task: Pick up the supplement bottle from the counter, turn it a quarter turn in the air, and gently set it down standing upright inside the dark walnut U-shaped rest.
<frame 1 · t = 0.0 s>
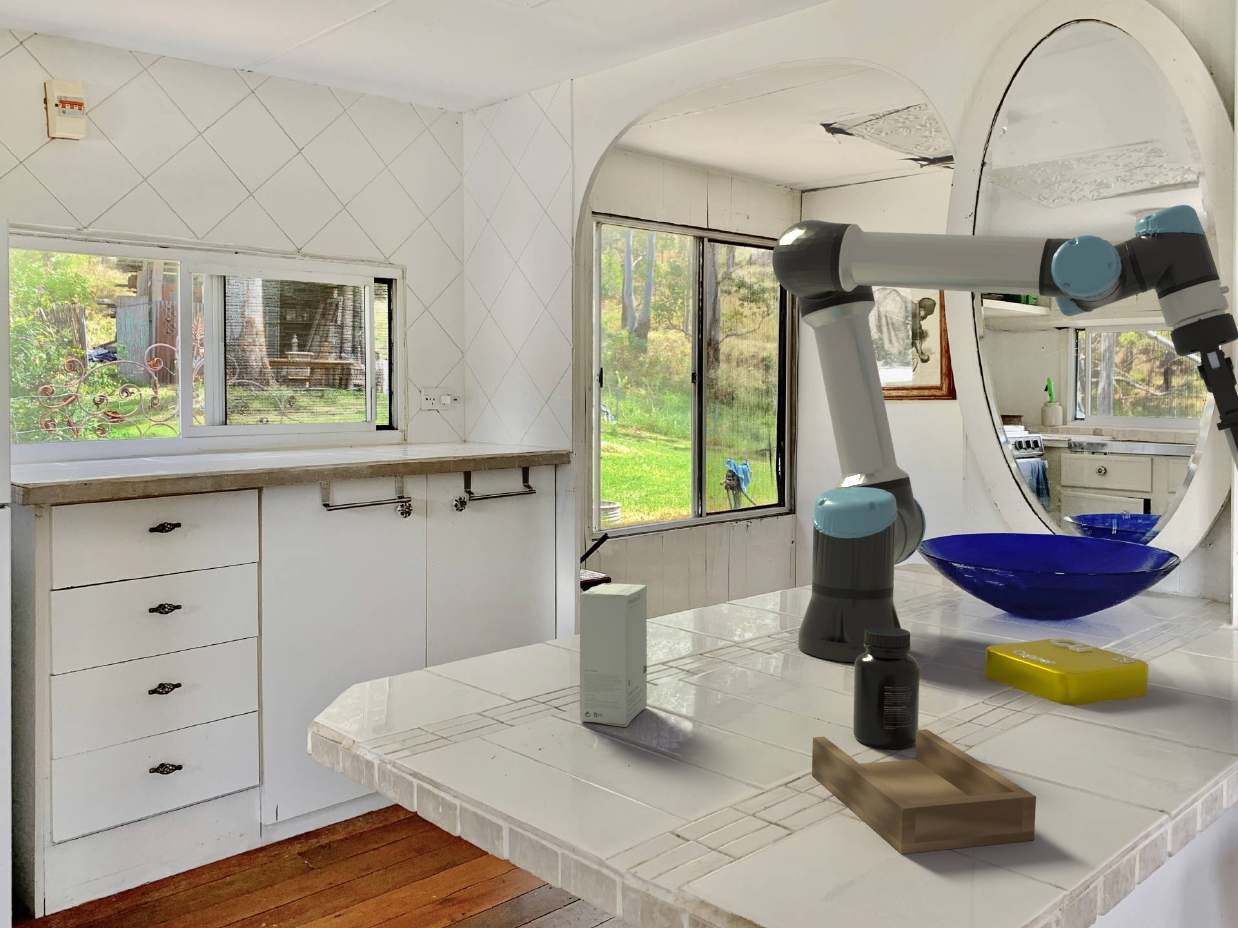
u rest: (900, 793, 94), on the counter
supplement bottle: (884, 741, 109), on the counter
element tile: (1063, 688, 132), on the counter
skincare box: (613, 715, 116), on the counter
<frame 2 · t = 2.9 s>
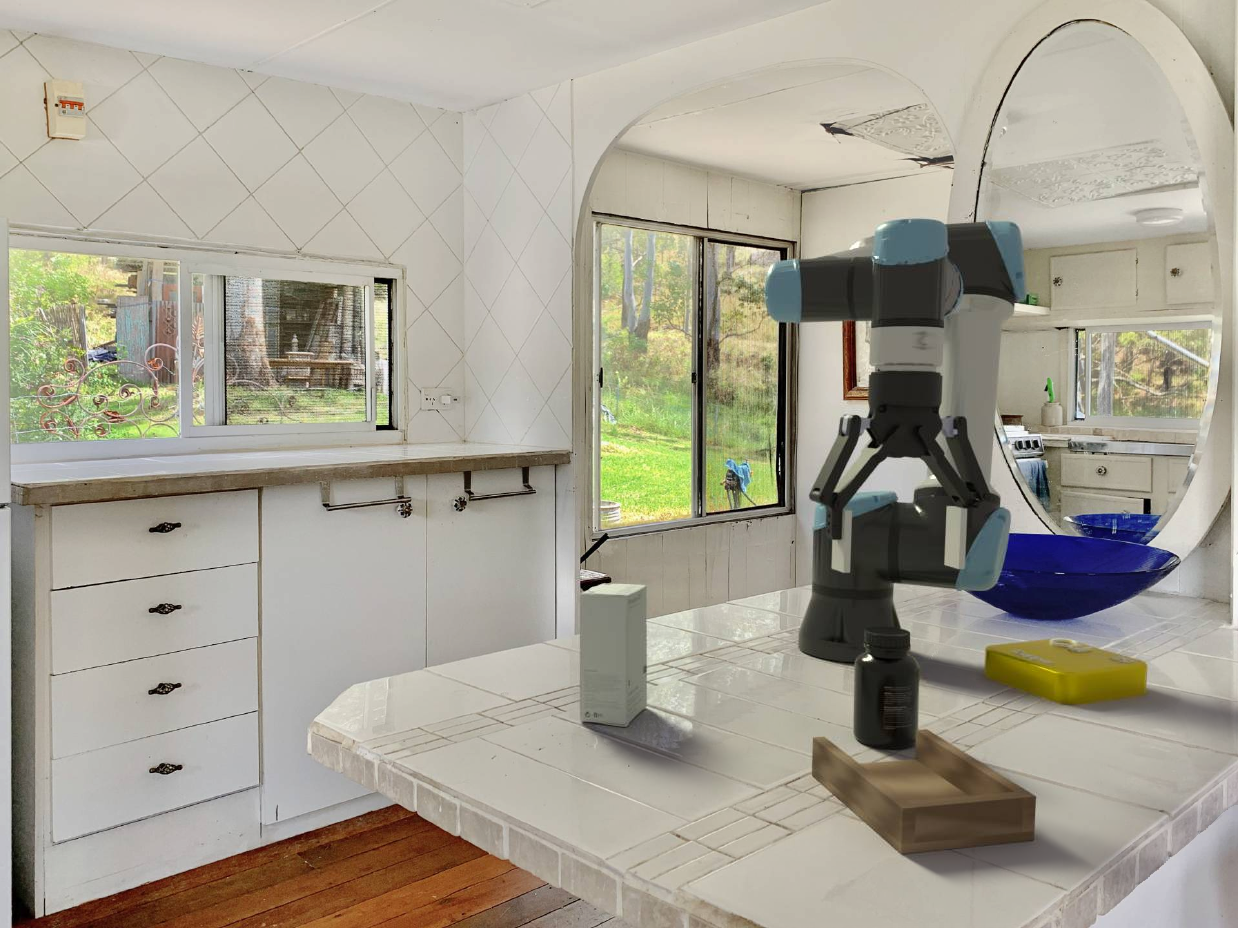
hand: (898, 569, 107), 19 cm above the counter, tool pointing down, fingers open, 13 cm apart
nothing on the counter moved.
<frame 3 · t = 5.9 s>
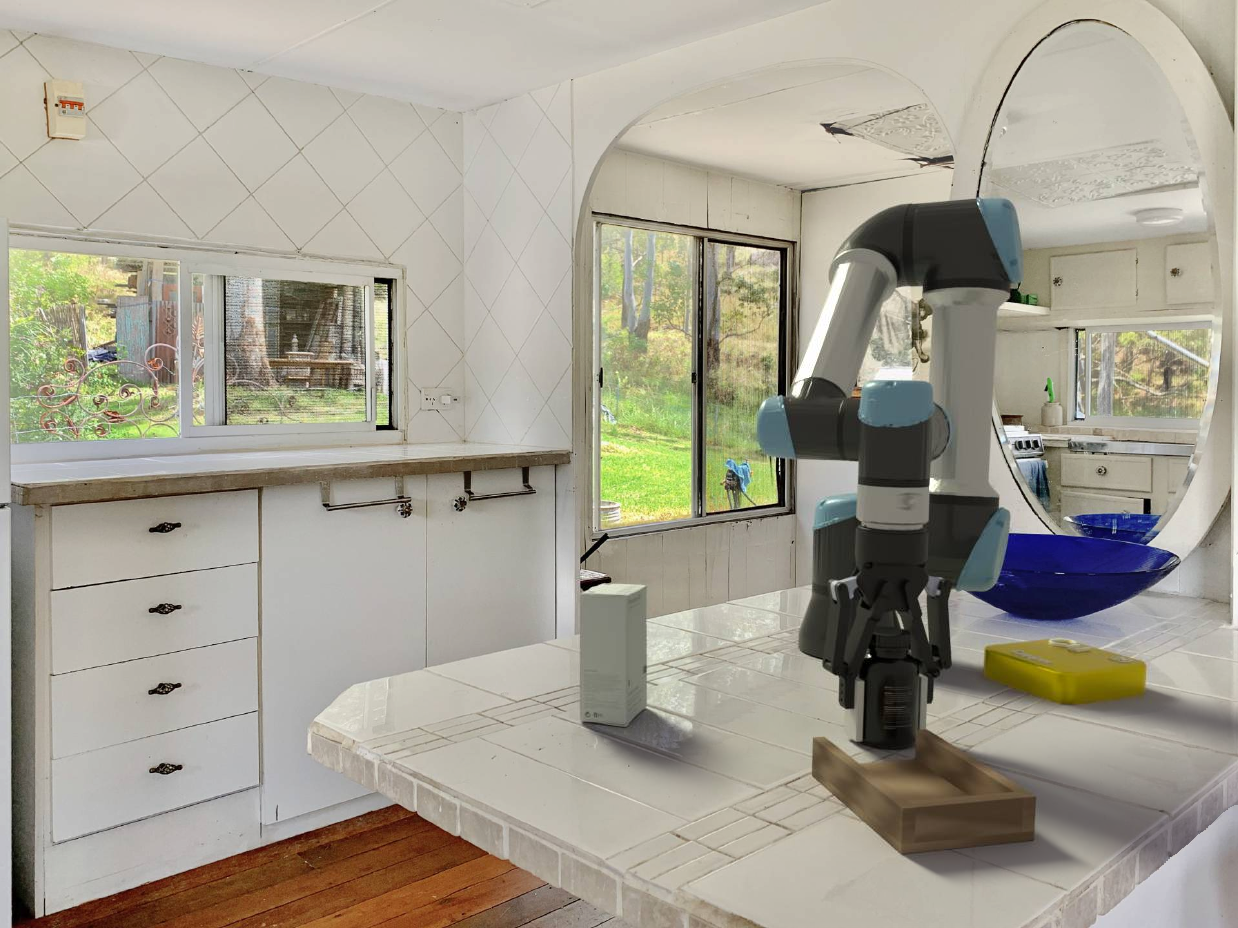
hand: (884, 734, 109), 1 cm above the counter, tool pointing down, fingers closed on supplement bottle, 7 cm apart
supplement bottle: (884, 741, 109), on the counter, touching gripper
everything else where it was.
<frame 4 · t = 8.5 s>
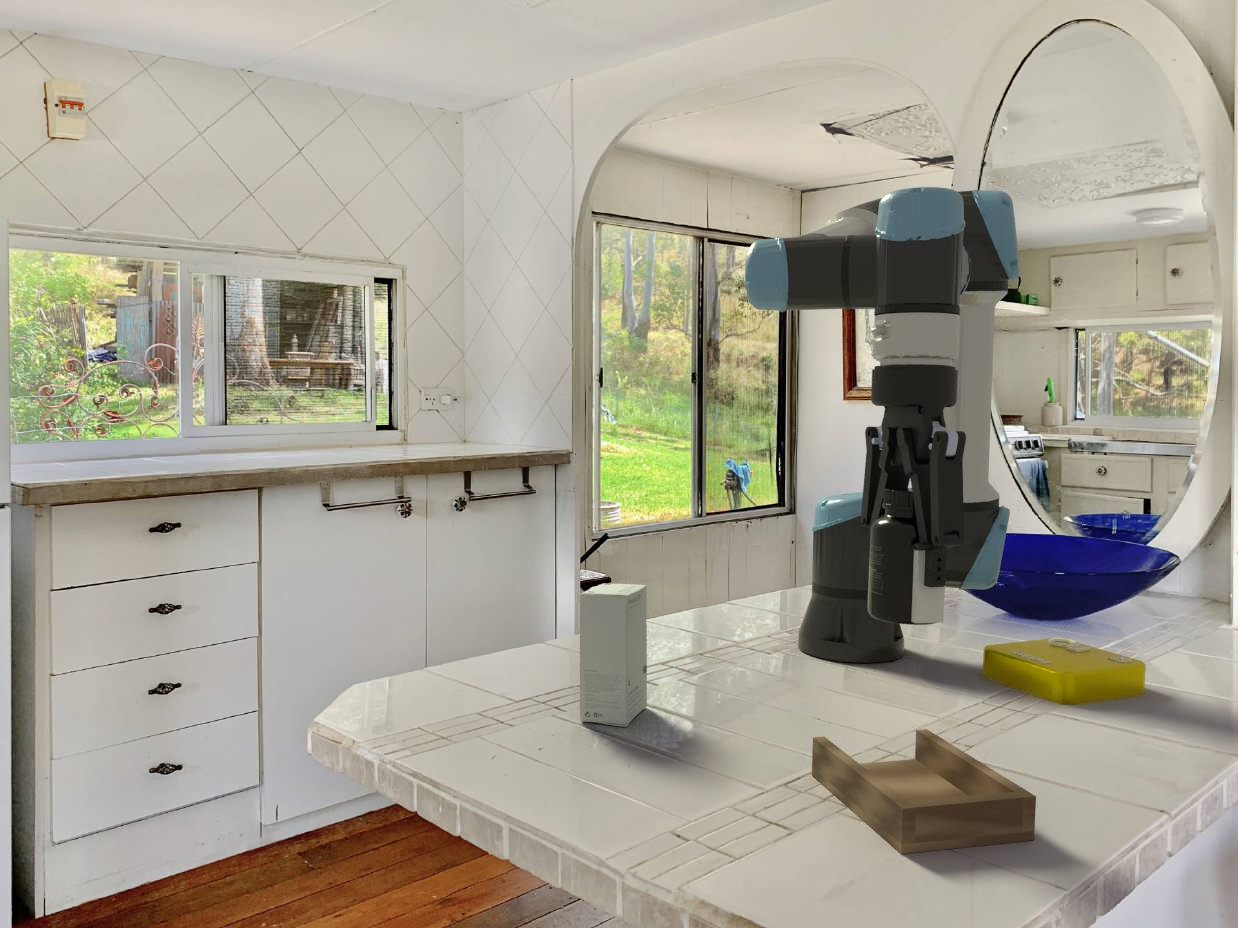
hand: (905, 612, 93), 17 cm above the counter, tool pointing down, fingers closed on supplement bottle, 7 cm apart
supplement bottle: (905, 620, 93), point 16 cm above the counter, touching gripper
everything else where it was.
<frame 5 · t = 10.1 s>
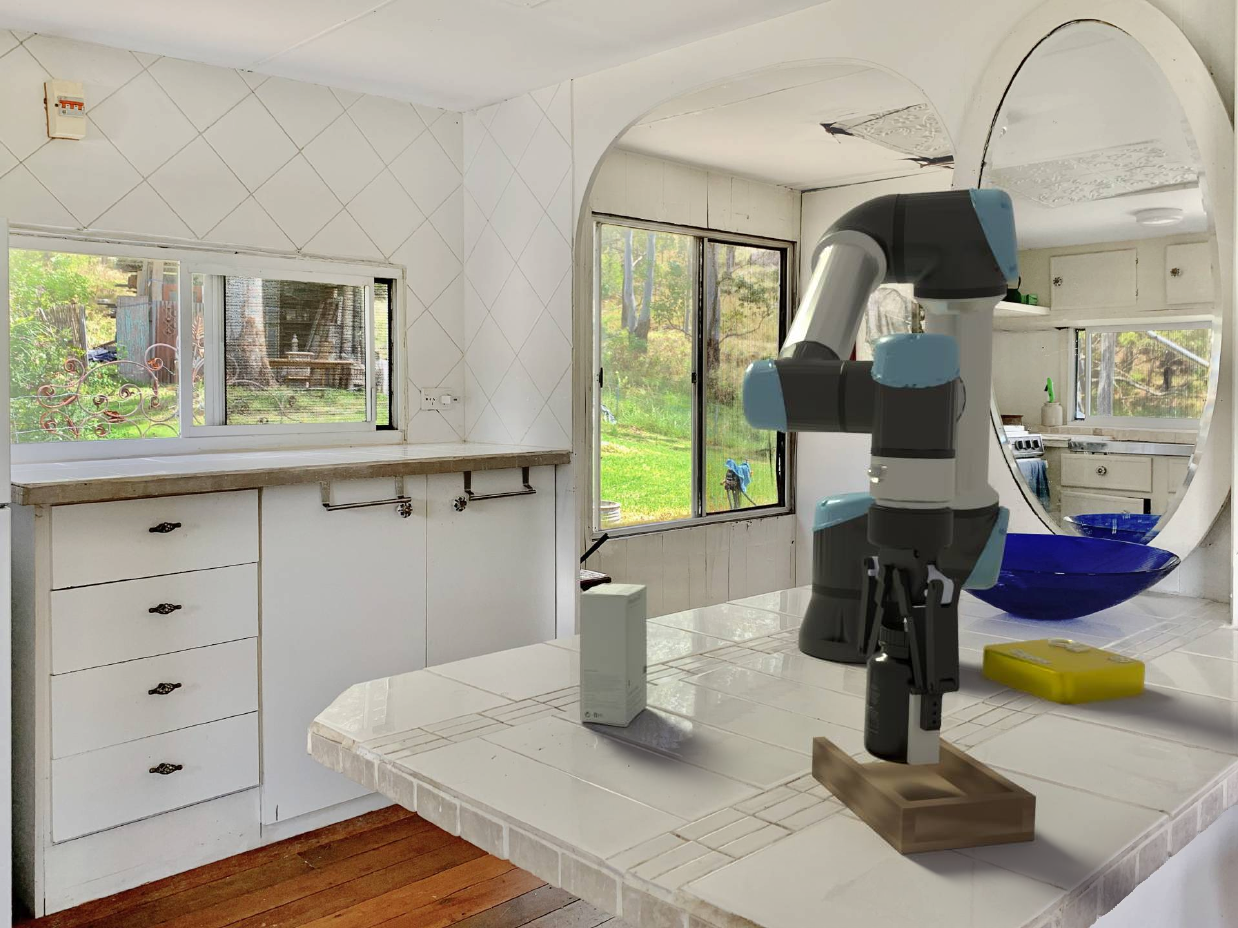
hand: (901, 747, 94), 4 cm above the counter, tool pointing down, fingers closed on supplement bottle, 7 cm apart
supplement bottle: (901, 755, 94), point 4 cm above the counter, touching gripper
everything else where it was.
when the fingers open (3 cm above the counter, at t = 11.1 s): supplement bottle drops 2 cm, resting on u rest.
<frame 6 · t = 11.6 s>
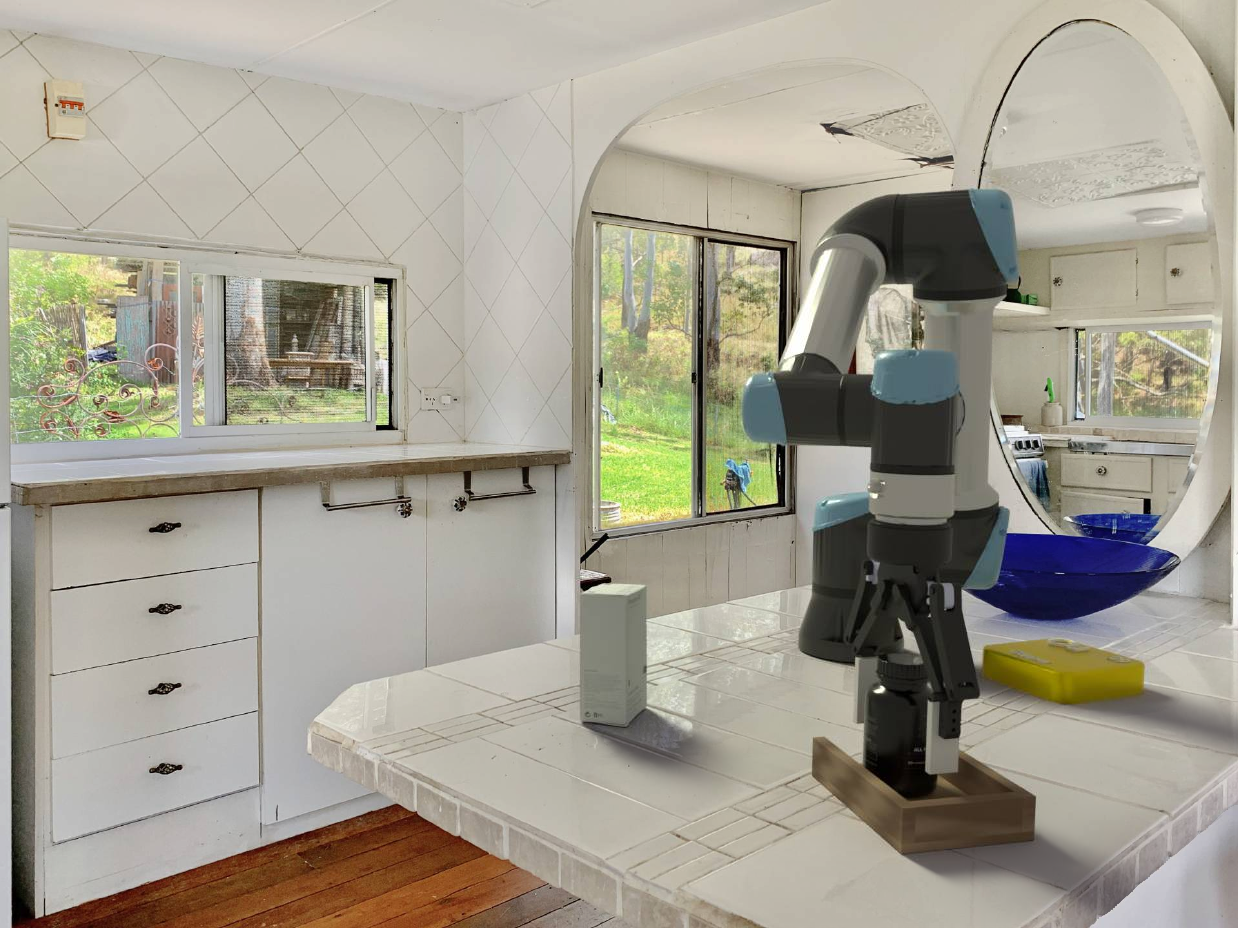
hand: (901, 745, 94), 5 cm above the counter, tool pointing down, fingers open, 13 cm apart
supplement bottle: (899, 786, 94), point 1 cm above the counter, touching u rest
everything else where it was.
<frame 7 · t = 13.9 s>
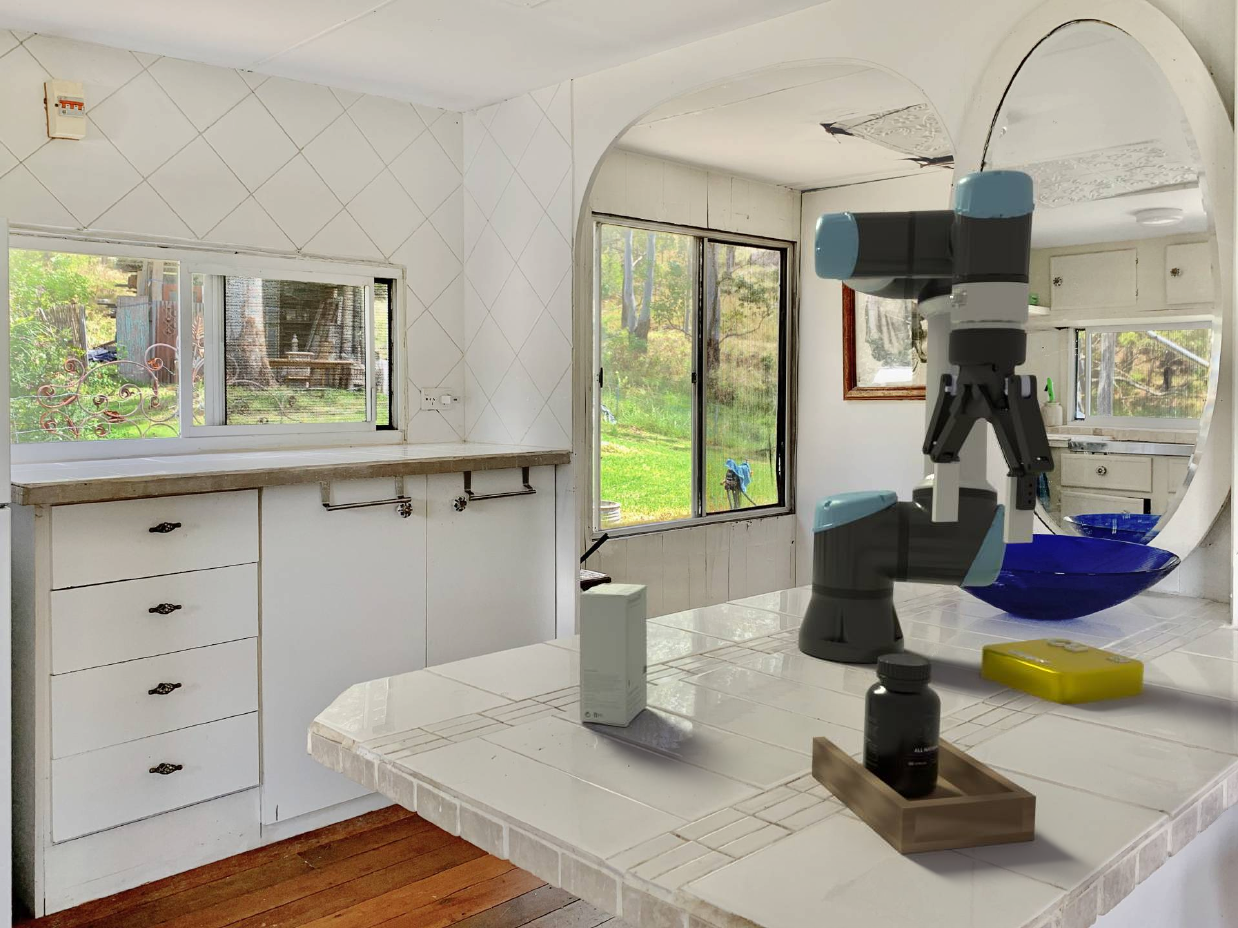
hand: (978, 531, 105), 23 cm above the counter, tool pointing down, fingers open, 13 cm apart
nothing on the counter moved.
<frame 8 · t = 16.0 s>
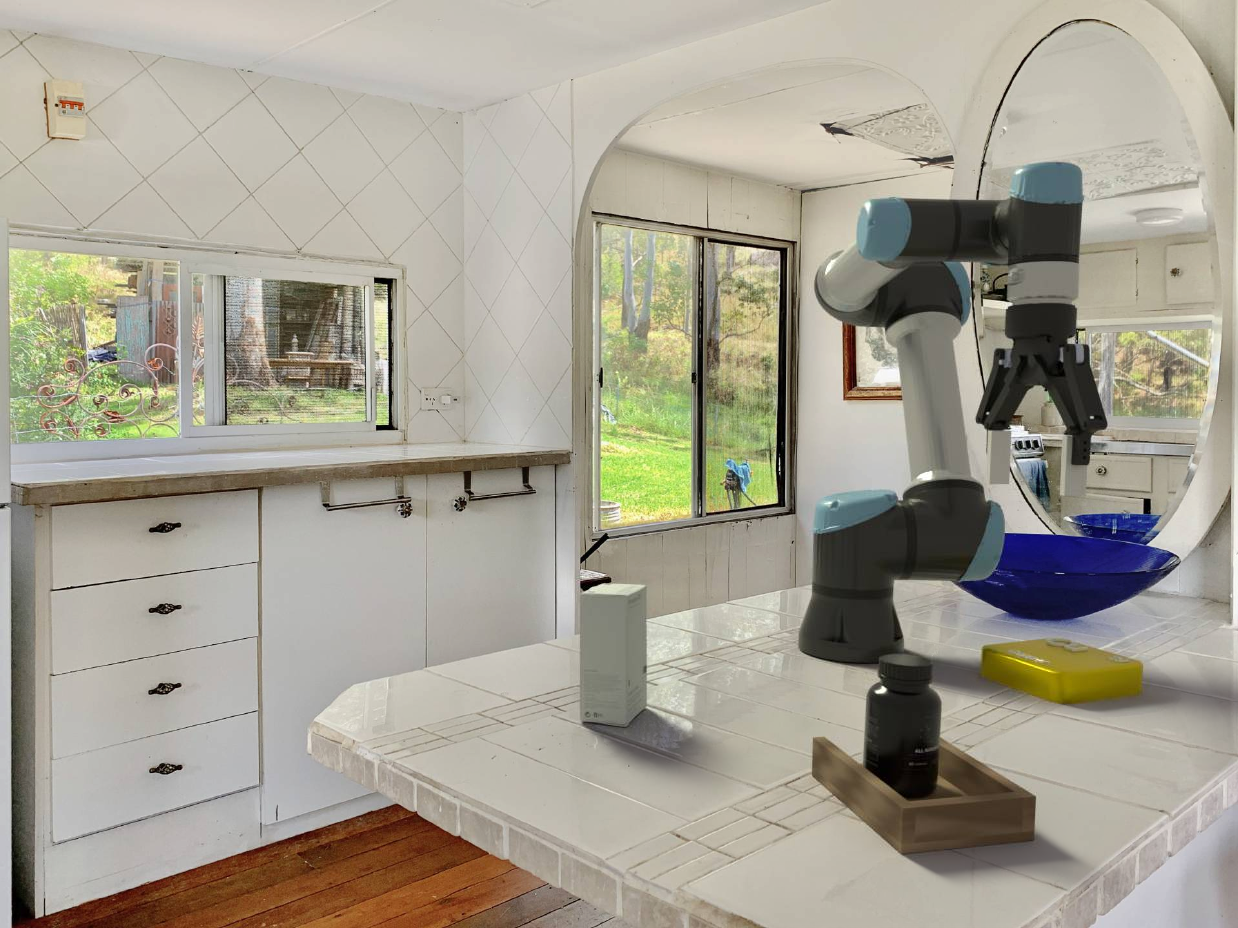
hand: (1032, 489, 116), 27 cm above the counter, tool pointing down, fingers open, 13 cm apart
nothing on the counter moved.
at the end: supplement bottle 0.1 cm off-centre on the u rest, point 0.6 cm above the u rest's base; supplement bottle tilted 0°; the gripper is holding nothing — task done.
